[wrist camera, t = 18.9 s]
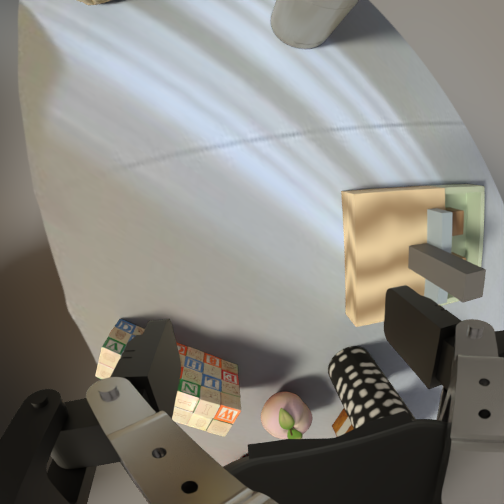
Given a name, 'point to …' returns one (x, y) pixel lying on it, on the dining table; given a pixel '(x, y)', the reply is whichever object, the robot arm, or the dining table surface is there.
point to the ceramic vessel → (93, 1)
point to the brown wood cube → (457, 221)
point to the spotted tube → (363, 387)
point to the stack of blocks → (187, 382)
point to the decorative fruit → (286, 416)
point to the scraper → (444, 263)
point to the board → (383, 244)
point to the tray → (467, 222)
